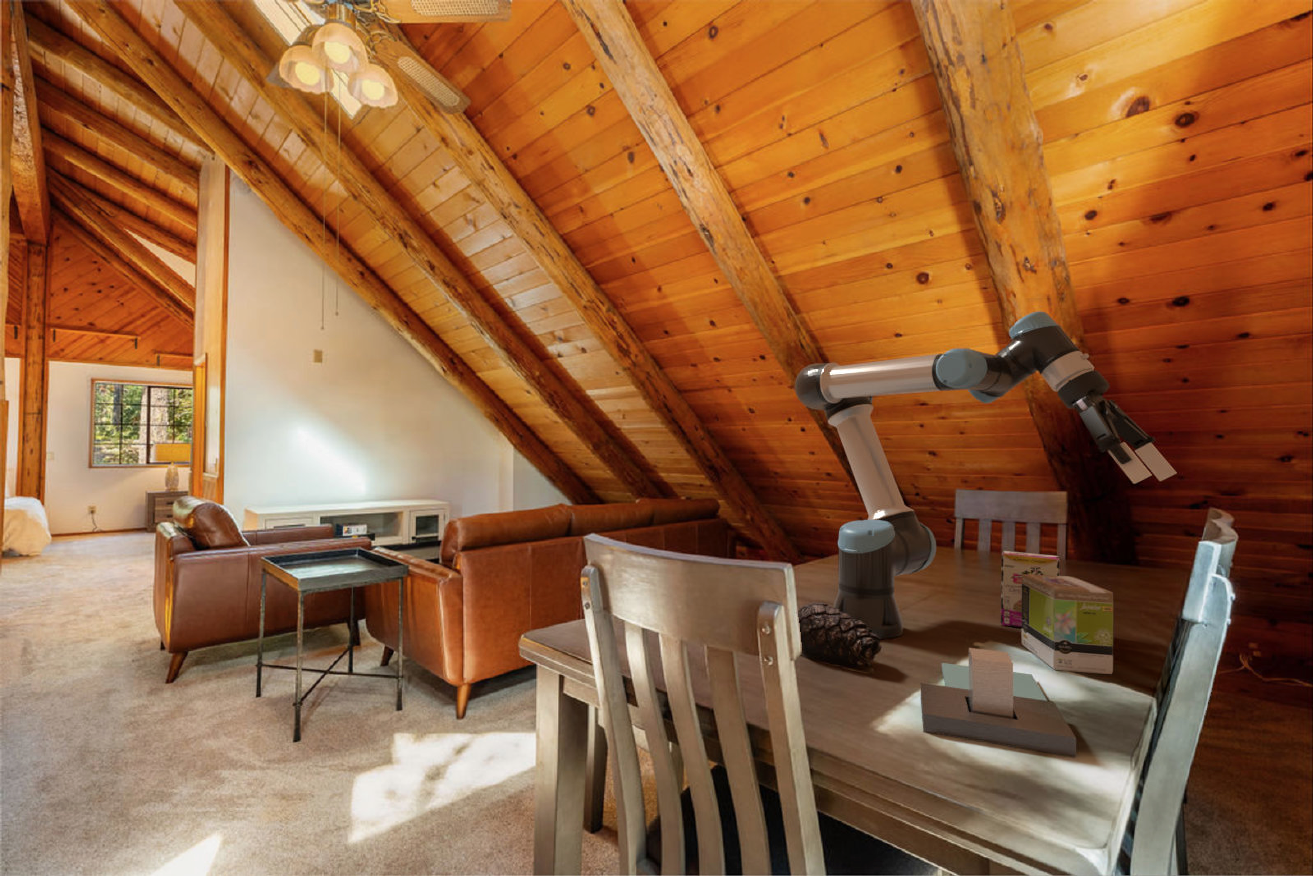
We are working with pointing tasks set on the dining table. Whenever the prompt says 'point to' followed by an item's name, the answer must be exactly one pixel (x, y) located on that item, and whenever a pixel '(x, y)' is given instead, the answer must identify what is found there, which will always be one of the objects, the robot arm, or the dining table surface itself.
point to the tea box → (1068, 623)
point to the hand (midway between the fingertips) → (1156, 478)
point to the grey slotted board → (997, 721)
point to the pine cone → (836, 638)
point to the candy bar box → (1012, 581)
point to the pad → (1021, 682)
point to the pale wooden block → (990, 683)
